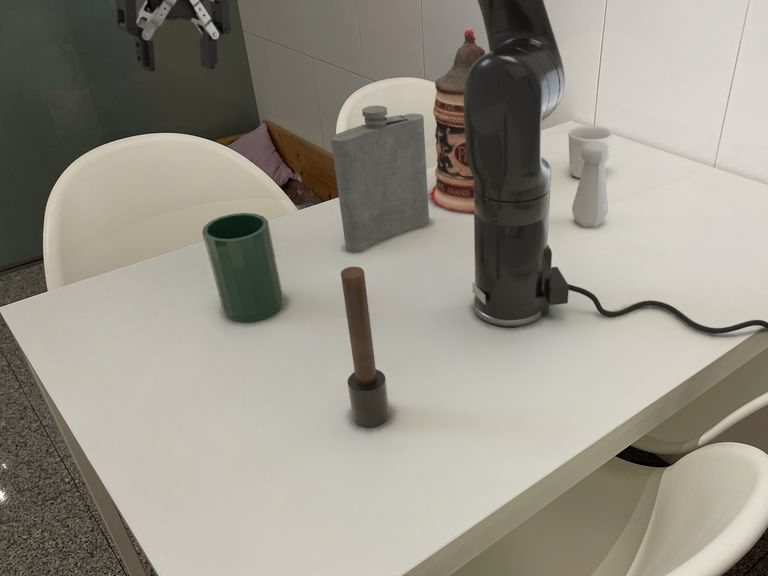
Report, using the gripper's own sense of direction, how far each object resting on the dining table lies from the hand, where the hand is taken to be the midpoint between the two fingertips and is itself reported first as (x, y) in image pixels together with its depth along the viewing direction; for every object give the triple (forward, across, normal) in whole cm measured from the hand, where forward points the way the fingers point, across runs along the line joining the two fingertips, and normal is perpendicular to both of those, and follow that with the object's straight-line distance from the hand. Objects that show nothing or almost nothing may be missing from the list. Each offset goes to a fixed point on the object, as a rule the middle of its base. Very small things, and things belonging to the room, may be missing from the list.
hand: (179, 69), depth 91 cm
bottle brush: (+26, -8, -47) cm, 54 cm away
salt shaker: (+17, +48, -40) cm, 64 cm away
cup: (+15, +64, -29) cm, 72 cm away
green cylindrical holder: (+27, -2, -18) cm, 32 cm away
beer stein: (+19, +46, -17) cm, 53 cm away
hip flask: (+23, +25, -16) cm, 37 cm away
